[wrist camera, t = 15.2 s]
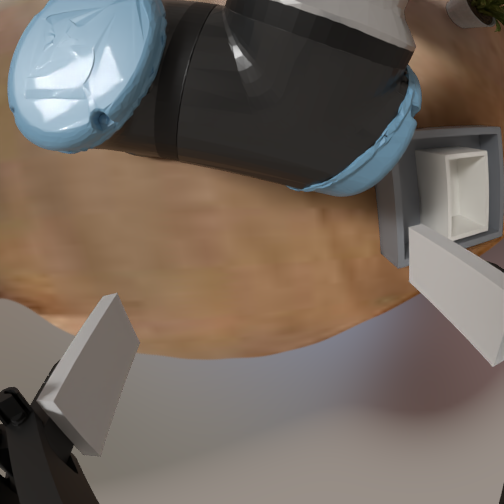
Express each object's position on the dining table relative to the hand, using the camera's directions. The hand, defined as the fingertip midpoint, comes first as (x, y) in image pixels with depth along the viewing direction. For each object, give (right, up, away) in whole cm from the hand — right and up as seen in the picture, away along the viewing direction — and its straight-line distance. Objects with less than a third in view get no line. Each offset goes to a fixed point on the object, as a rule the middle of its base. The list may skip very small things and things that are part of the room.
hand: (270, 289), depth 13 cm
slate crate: (+26, +11, +26) cm, 39 cm away
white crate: (+26, +11, +25) cm, 38 cm away
